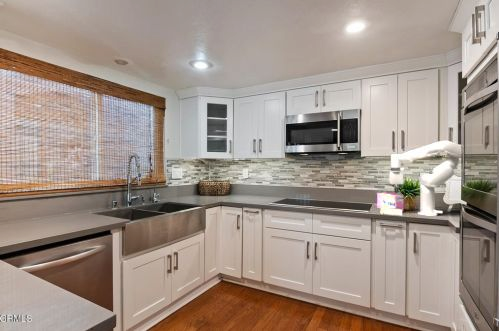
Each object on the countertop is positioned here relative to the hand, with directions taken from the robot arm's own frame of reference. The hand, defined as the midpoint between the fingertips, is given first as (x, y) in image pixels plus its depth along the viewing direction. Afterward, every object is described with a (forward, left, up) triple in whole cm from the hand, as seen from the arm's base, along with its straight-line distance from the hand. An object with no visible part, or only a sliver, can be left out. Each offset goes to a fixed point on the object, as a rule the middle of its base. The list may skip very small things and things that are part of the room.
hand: (396, 192), depth 210 cm
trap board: (+4, -3, -17) cm, 17 cm away
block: (+8, 0, -14) cm, 16 cm away
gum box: (+6, -20, -17) cm, 27 cm away
